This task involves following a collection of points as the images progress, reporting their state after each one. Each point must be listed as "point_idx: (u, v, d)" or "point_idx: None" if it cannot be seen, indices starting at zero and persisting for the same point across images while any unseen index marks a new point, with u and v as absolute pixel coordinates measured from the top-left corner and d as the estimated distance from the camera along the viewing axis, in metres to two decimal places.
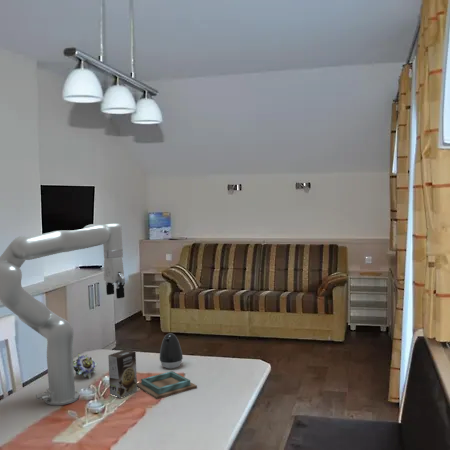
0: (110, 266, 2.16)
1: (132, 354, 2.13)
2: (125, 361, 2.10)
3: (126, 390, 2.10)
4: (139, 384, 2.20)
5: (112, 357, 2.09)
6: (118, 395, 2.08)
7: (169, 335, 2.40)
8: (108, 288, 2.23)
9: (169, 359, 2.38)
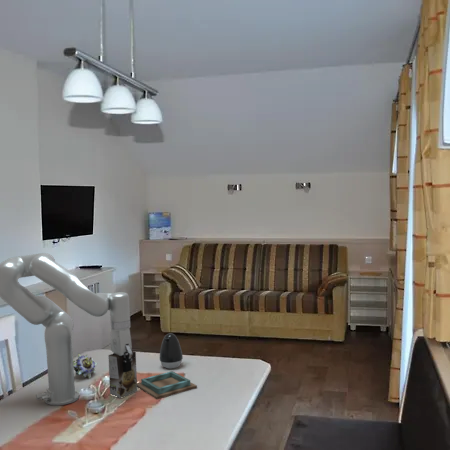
0: (117, 338, 2.08)
1: (132, 354, 2.13)
2: None
3: (126, 390, 2.10)
4: (139, 384, 2.20)
5: (112, 357, 2.09)
6: (118, 395, 2.09)
7: (169, 335, 2.40)
8: None
9: (169, 359, 2.38)
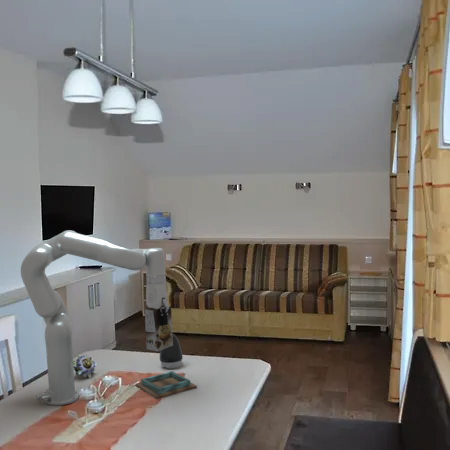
0: (154, 292, 2.11)
1: None
2: None
3: (163, 343, 2.14)
4: (139, 384, 2.20)
5: (149, 311, 2.13)
6: (155, 348, 2.12)
7: None
8: None
9: (169, 359, 2.38)
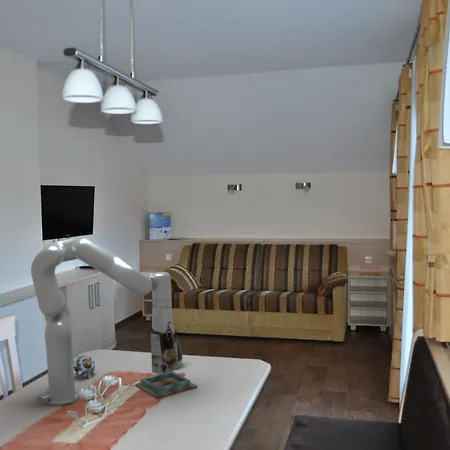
0: (160, 316, 2.13)
1: None
2: None
3: (168, 367, 2.15)
4: (139, 384, 2.20)
5: (154, 335, 2.14)
6: (161, 372, 2.13)
7: None
8: None
9: None
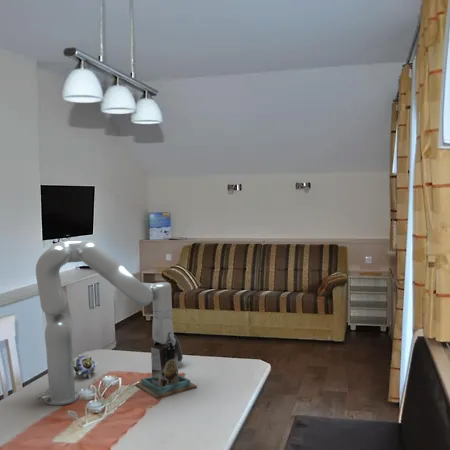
0: (160, 327, 2.13)
1: None
2: None
3: (168, 381, 2.15)
4: (139, 384, 2.20)
5: (155, 349, 2.14)
6: (161, 386, 2.13)
7: None
8: None
9: None
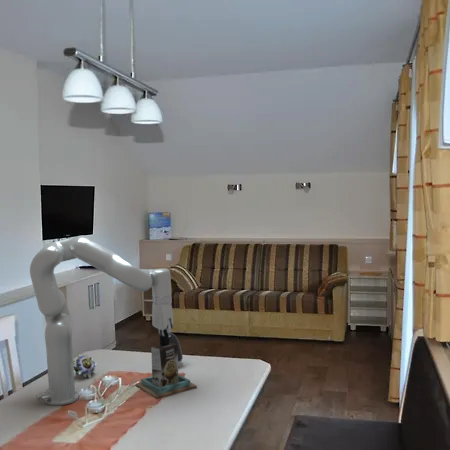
0: (160, 313, 2.12)
1: (174, 346, 2.17)
2: (168, 353, 2.14)
3: (168, 381, 2.15)
4: (139, 384, 2.20)
5: (155, 349, 2.14)
6: (161, 386, 2.13)
7: (169, 335, 2.40)
8: None
9: None
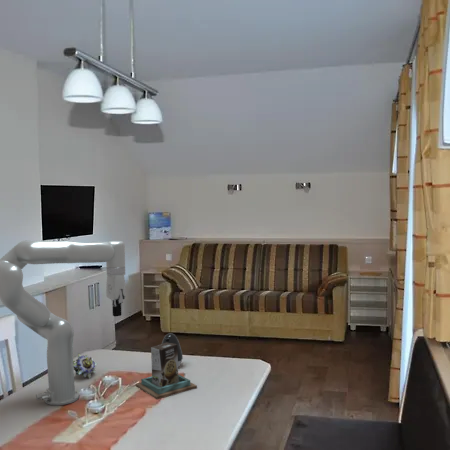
0: (112, 283, 2.18)
1: (174, 346, 2.17)
2: (167, 353, 2.14)
3: (168, 381, 2.15)
4: (139, 384, 2.20)
5: (155, 349, 2.14)
6: (161, 386, 2.13)
7: (169, 335, 2.40)
8: None
9: None
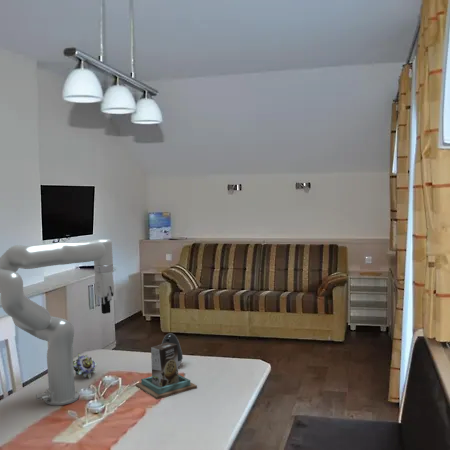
0: (100, 281, 2.20)
1: (174, 346, 2.17)
2: (167, 353, 2.14)
3: (168, 381, 2.15)
4: (139, 384, 2.20)
5: (155, 349, 2.14)
6: (161, 386, 2.13)
7: (169, 335, 2.40)
8: None
9: None
